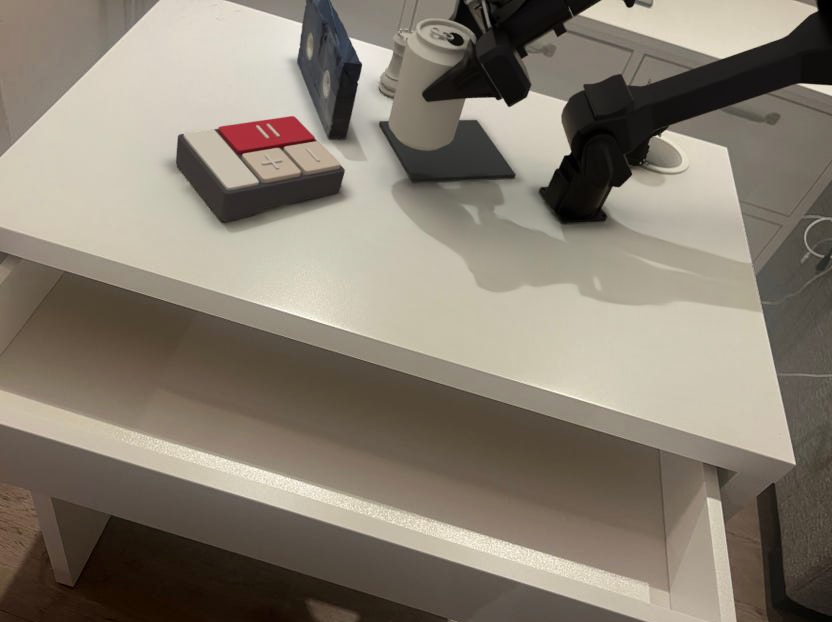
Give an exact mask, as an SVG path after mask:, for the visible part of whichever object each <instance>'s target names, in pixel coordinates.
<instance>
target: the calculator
mask: <svg viewBox="0 0 832 622" xmlns="http://www.w3.org/2000/svg"><path fill="white" fill-rule="evenodd" d="M175 155H176V156H175V164H176V166H177V167H178V168H179V169H180V171H181V172H182V173H183V174H184V176H185V177H186V178H187V179H188V180H189V182H190V183H191V184H192V186H193V187H194V189H195V190H196V191H197V192H198V193H199V194H200V196H201V197H202V199H203V200H204V201H205V202H206V203H207V205H208V206H209V207H210V208H211V210H212V211H213V212H214V213H215V215H216V216H217V218H219V220H220V221H222V222H229V221H233V220H238V219H243V218H247V217H251V216H254V215H256V214H257V213H258V212H260V211H262V210H264V209H268V208H274V207H279V206H282V205H287V204H292V203H296V202H301V201H305V200H309V199H314V198H319V197H323V196H328V195H333V194H338V193H340V192H341V188H342V184H343V180H344V176H345V172H346V170H345V168H344V167H343V166H342V165H341V162H340V161H339V160H338V159H337V158H336V157H335V156H334V155H333V154H332V153H331V152H330V151H329V150H328V149H327V148H326V147H325V146H324V145H323V143H321V142H320V141H318V140H317V139H316V137H315V136H314V134H312V132H310V131H309V129H308V128H307V127H306V126H305V125H303V123H302V122H301V121H300V120H299V119H298V118H297V117H296V116H294V115H291V116H290V115H289V116H284V117H275V118H270V119H262V120H255V121H248V122H242V123H234V124H228V125H220V126H218V128H209V129H203V130H198V131H195V130H194V131H189V132H184V133H180V134H178V135H177V143H176V154H175Z"/></svg>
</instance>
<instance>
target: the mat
mask: <svg viewBox="0 0 832 622" xmlns="http://www.w3.org/2000/svg"><path fill="white" fill-rule="evenodd" d="M388 122H389V120H381V121H380V120H379V122H378V126H379V128H380V129H381V131H382V132H383V134H384V135H385V137H386V139H387V142H388V143H389V145H390V147H391V148H392V149H393V151H394V154H395V155H396V157H397V159H398V160H399V162H400V164H401V165H402V167H403V170H404V171H405V172H406V175H407V176H408V177H409V179H410V181H411V182H412V183H424V182H428V183H429V182H448V181H472V180H492V179H493V180H495V179H496V180H497V179H514V178H515V177H516V176H517V174H516V173H515V171H514V170H513V168H512V167H511V165H510V164H509V162H508V161H507V160H506V159H505V157H504V156H503V155H502V153H501V152H500V150H499V149H498V147H497V146H496V145H495V143H494V142H493V141H492V139H491V137H490V136H489V134H488V133H487V132H486V131H485V129H484V127H482V125H481V123H480V122H479V121H478V120H477V119H459V122H458V125H457V129H456V132H455V135H454V139H453V140H452V141H451V142H450V143H449V144H448V145H445V146H443V147H441V148H439V149H436V150H430V151H426V150H418V149H414V148H411V147H409V146H407V145H405V144H403V143H402V142H400V141H399V140H398V139H397V137H396V136H395V134H394V133H393V132H392V131H391V129H390V127H389V123H388Z"/></svg>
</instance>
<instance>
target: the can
mask: <svg viewBox="0 0 832 622" xmlns="http://www.w3.org/2000/svg"><path fill="white" fill-rule="evenodd" d="M413 31H414V30H413ZM470 38H471V40H472V41H473V43H474V45H476V40H477V39H476V37H475V35H474V33H473V32H472V31H471V30H470V29H468V28H467V27H465V26H463V25H461V24H459V23H456V22H454V21H450V20H448V19H445V18H437V17H436V18H434V17H433V18H426V19H423V20H421V21H419V22H418V23H417V24H416V28H415V31H414V32H413V33H412V34H410V35H409V36H408V39H407V43H406V47H405V52H404V56H403V60H402V65H401V69H400V74H399V78H398V82H397V87H396V91H395V96H394V98H393V101H392V106H391V109H390V115H389V118H388V121H389V122H388V123H389V127H390V129H391V131H392V132H393V133H394V134H395V136H396V137H397V139H398V140H399V141H400V142H402V143H403V144H405V145H407V146H409V147H411V148H414V149H418V150H426V151H430V150H436V149H439V148H441V147H443V146H445V145H448V144H449V143H450V142H451V141H452V140H453V139H454V135H455V132H456V129H457V125H458V122H459V120H461V119H460V118H461V116H462V112H463V109H464V106H465V103H466V99H454V100H444V101H434V102H426V101H425V99H424V98H423V96H422V92H423V91H424V90H425V89H426V88H427V87H428V86H430V85H431V84H432V83H433V82H434V81H436V80H437V79H438V78H439V77H441V76H442V75H443V74H444V73H446V72H447V71H448V70H449V69H451V68H452V67H453V66H455V65H456V64H457V63H458V62H460V61H461V60H462V59H463V57H464V54H465V51H466V47H467V44H468V41H469V39H470Z"/></svg>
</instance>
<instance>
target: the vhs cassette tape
mask: <svg viewBox="0 0 832 622" xmlns="http://www.w3.org/2000/svg"><path fill="white" fill-rule="evenodd" d="M296 63H297V65H298V68H299V70H300V73H301V76H302V78H303V81H304V83H305V86H306V88H307V90H308V93H309V95H310V98H311V100H312V103H313V105H314V108H315V111H316V113H317V115H318V118H319V121H320V123H321V125H322V128H323V130H324V133H325V135H326V137H327V138H329V139H337V138H338V139H347V136H348V132H349V127H350V123H351V118H352V114H353V109H354V107H355V106H354V105H355V101H356V95H357V91H358V87H359V83H358V82H359V80H360V77H361V73H362V68H363V63H362V61H360V59H359V56H358V54H357V51H356V49H355V48H354V46H353V43H352V40H351V39H350V37H349V35H348V32H347V30H346V28H345V25H344V23H343V22H342V20H341V18H340V16H339V14H338V12H337V10H336V9H335V8H334V6H333V3H332V2H331V0H305V6H304V11H303V18H302V25H301V33H300V40H299V48H298V53H297V58H296Z"/></svg>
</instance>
